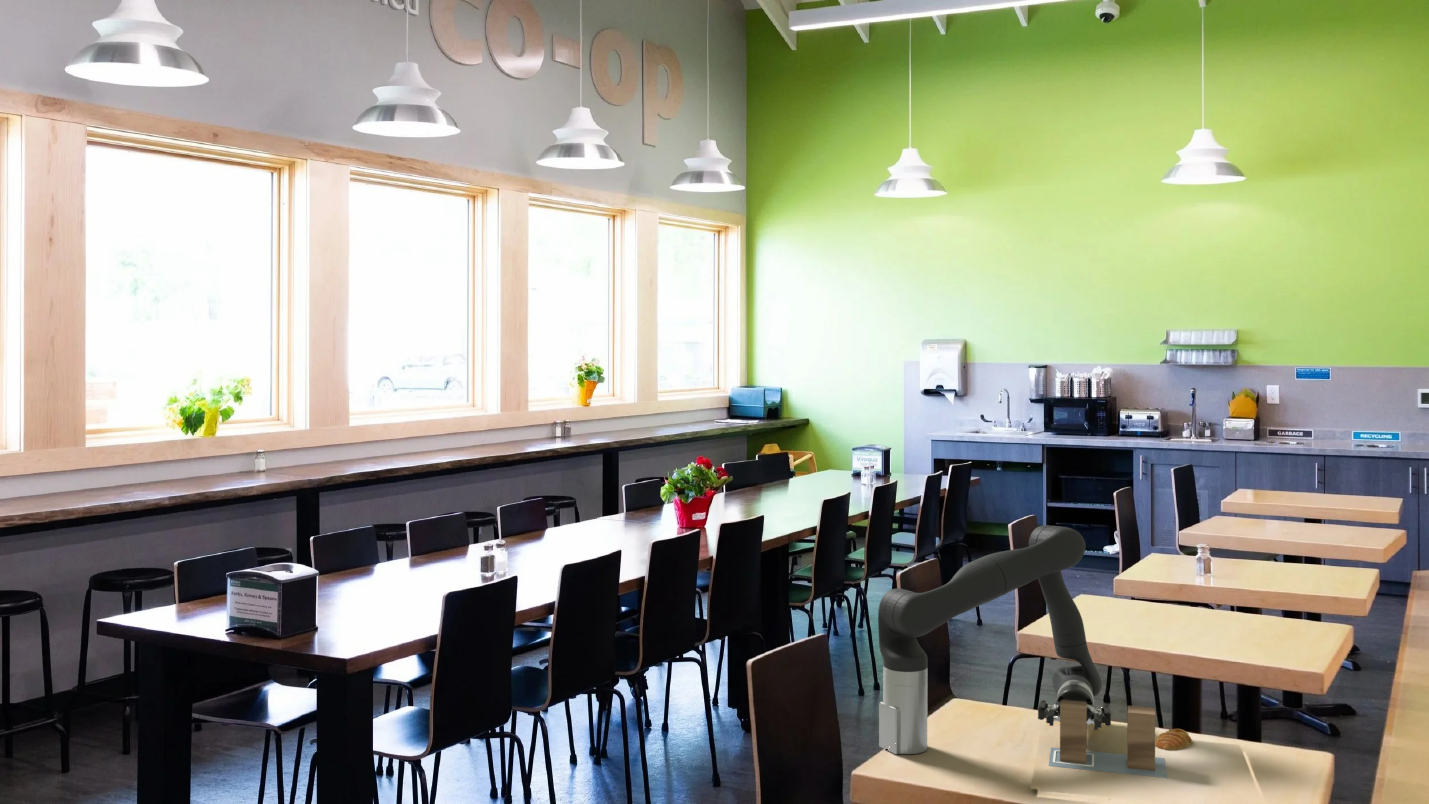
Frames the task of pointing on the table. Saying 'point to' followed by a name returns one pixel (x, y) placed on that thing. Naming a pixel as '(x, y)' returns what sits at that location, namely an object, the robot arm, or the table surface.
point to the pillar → (1073, 731)
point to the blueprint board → (1108, 764)
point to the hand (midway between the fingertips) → (1073, 723)
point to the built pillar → (1141, 738)
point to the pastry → (1173, 740)
